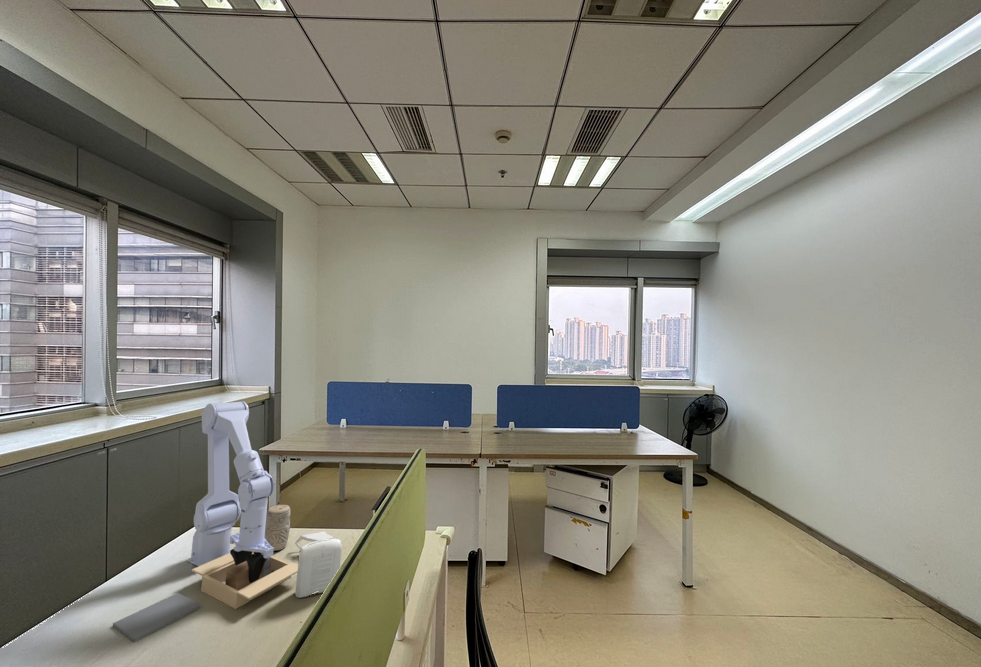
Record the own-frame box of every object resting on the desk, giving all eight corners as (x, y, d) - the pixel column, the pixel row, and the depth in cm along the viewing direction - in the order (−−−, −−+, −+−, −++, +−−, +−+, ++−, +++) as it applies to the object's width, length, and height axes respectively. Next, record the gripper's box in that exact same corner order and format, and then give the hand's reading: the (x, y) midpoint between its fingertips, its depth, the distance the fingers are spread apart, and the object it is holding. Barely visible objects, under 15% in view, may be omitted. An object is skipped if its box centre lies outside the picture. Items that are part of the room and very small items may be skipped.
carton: (190, 585, 97) (192, 569, 97) (247, 558, 110) (249, 544, 111) (247, 615, 88) (249, 597, 88) (302, 582, 101) (304, 567, 101)
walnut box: (224, 590, 96) (226, 569, 96) (259, 572, 104) (260, 553, 104) (235, 596, 94) (237, 574, 94) (269, 577, 102) (271, 557, 103)
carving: (293, 544, 120) (296, 504, 120) (274, 556, 112) (277, 514, 113) (276, 540, 121) (280, 501, 122) (256, 552, 114) (260, 510, 115)
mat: (112, 626, 82) (112, 623, 82) (177, 595, 93) (177, 592, 93) (134, 641, 78) (134, 638, 78) (199, 607, 89) (199, 605, 89)
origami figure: (338, 543, 122) (339, 527, 122) (334, 557, 114) (335, 540, 114) (296, 546, 119) (297, 529, 119) (289, 560, 111) (291, 543, 111)
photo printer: (337, 580, 103) (340, 532, 103) (340, 588, 99) (344, 539, 100) (294, 591, 97) (298, 541, 98) (296, 601, 94) (300, 548, 94)
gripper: (219, 523, 99) (214, 577, 99) (256, 537, 93) (251, 595, 92) (246, 513, 106) (242, 564, 105) (282, 526, 100) (278, 580, 99)
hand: (248, 578), depth 99 cm, fingers closed on walnut box, 4 cm apart
